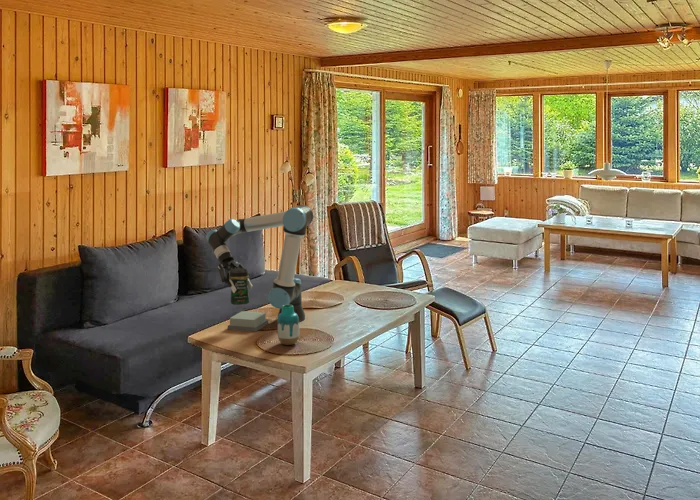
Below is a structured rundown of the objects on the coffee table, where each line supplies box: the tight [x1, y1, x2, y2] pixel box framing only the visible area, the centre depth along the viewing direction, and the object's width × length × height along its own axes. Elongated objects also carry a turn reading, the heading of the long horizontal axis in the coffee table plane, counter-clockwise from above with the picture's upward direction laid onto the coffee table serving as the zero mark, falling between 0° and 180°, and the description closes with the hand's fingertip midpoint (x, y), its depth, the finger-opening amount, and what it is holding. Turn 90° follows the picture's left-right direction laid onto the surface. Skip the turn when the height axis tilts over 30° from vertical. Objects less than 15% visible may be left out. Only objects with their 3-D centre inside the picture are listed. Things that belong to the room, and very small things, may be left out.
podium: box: [227, 310, 269, 333], centre depth 341 cm, size 16×16×6 cm
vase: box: [276, 304, 300, 346], centre depth 310 cm, size 11×11×19 cm
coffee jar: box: [229, 267, 250, 306], centre depth 333 cm, size 10×8×19 cm
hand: (243, 289), depth 331 cm, fingers closed on coffee jar, 9 cm apart
